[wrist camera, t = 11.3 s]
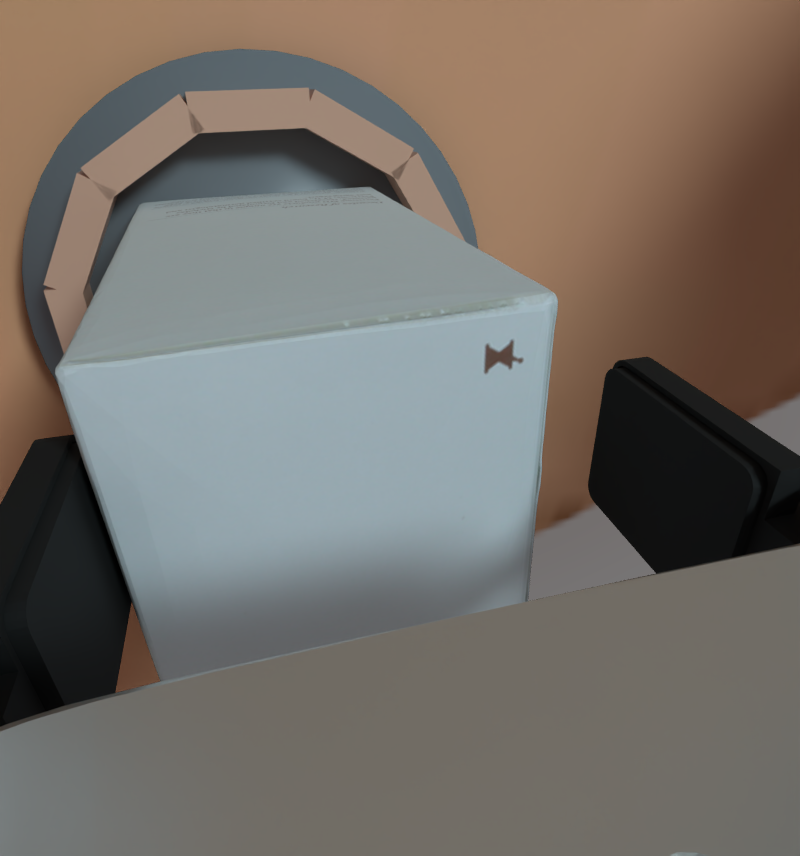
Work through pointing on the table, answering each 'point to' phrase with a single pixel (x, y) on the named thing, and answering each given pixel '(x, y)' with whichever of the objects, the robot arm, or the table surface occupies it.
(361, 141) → the ring tray
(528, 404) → the supplement box
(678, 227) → the table surface
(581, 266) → the table surface
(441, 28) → the table surface
